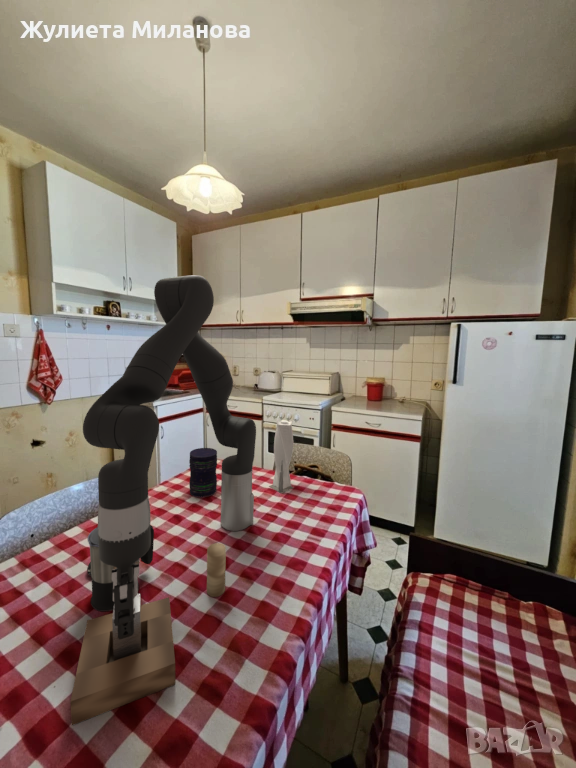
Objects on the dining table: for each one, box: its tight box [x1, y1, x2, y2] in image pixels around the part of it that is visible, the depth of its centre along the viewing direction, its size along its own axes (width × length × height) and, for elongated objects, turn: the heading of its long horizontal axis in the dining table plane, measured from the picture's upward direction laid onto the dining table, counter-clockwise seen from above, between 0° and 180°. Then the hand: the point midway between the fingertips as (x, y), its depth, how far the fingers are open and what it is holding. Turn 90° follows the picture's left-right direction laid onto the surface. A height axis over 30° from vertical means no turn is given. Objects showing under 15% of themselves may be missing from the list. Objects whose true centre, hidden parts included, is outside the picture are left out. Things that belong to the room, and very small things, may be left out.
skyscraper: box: [268, 415, 295, 494], centre depth 120 cm, size 8×8×28 cm
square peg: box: [112, 593, 142, 661], centre depth 53 cm, size 4×4×10 cm
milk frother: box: [86, 524, 155, 612], centre depth 69 cm, size 14×16×15 cm
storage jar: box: [188, 447, 218, 498], centre depth 114 cm, size 10×10×15 cm
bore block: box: [69, 596, 176, 726], centre depth 53 cm, size 14×14×4 cm
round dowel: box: [206, 542, 227, 598], centre depth 69 cm, size 4×4×10 cm
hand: (127, 613), depth 52 cm, fingers open, 8 cm apart
